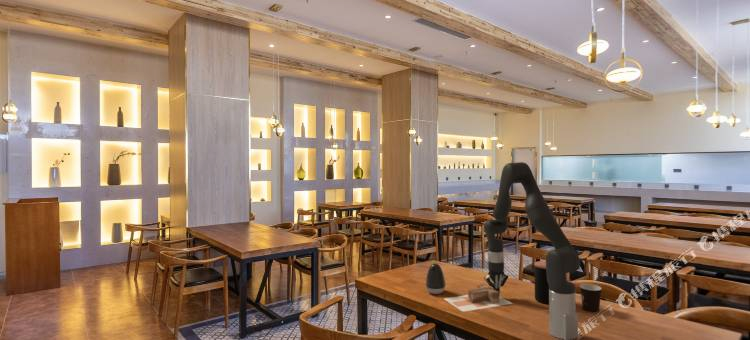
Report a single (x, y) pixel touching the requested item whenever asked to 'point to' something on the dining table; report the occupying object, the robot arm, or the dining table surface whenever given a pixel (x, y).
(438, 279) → the black egg-shaped piece
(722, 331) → the dining table surface
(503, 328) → the dining table surface
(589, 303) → the coffee mug
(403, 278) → the dining table surface
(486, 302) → the mat
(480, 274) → the dining table surface
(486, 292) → the t block
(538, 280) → the coffee jar
